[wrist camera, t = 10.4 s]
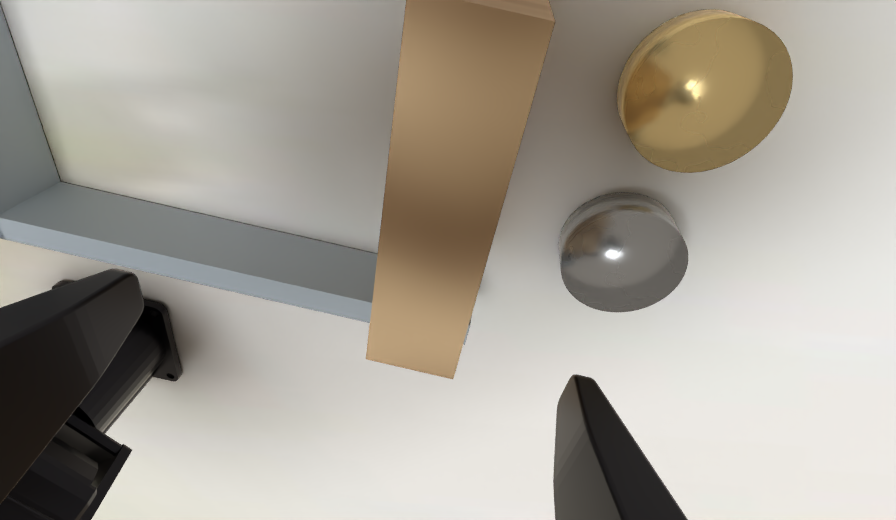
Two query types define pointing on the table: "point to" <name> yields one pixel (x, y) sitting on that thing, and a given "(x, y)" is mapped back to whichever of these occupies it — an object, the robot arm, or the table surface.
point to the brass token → (703, 90)
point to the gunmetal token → (621, 253)
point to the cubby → (160, 225)
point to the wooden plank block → (450, 169)
